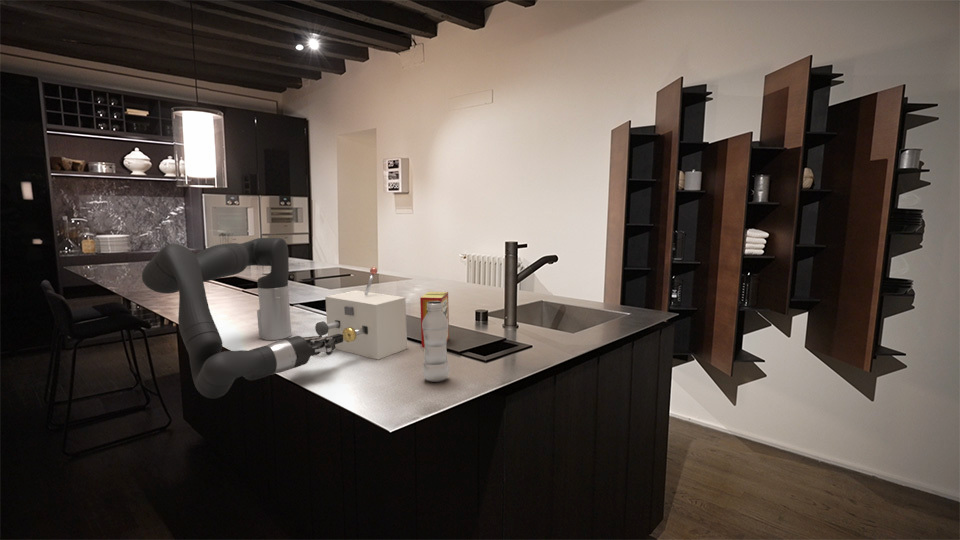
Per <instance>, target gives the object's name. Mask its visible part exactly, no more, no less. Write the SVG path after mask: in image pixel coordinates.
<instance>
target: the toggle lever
mask: <svg viewBox="0 0 960 540" xmlns="http://www.w3.org/2000/svg"><path fill="white" fill-rule="evenodd" d="M369 273H370V276H369V279H368V281H367V284H366V288H365V291H364V292H365V293H364V294H365V295H366V296H367V295H368V292H370V289H371V286H372V283H373V280H374V277H375V275H376V274H377V273H378V268H376V267H371V268H370V269H369Z"/></svg>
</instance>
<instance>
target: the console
mask: <svg viewBox="0 0 960 540" xmlns="http://www.w3.org/2000/svg"><path fill="white" fill-rule="evenodd" d="M364 293H365V291H362V290H358V289H357V290H356V289H355V290H351V291H347V292H341V293H337V294H332V295H326V296H325V298H324V299H325V310H326V312H325V314H326V324H330V323H334V322H338V321H339V322H340V326H339V327H336V328H332V329H329V330H328V333H327V336H328V337H329V336H332V335H336V334H342V333H343V330H344V329H345V328H348V327H352V328H353V329H354V330H357V329H360V328H364V327H367V328H368V332H366V333H363V334H360V335H356V339H355V340H354V341H352V342H346V341H345V340H344V338H343V342H341V343H338V344H335V347H336V348H335V349H334V350H338V351H339V350H340V351H341V352H347V353H350V354H354V355H359V356H362V357H366V358H371V359H373V360H374V359H375V360H377V361H379V360H380V359H383V358H386V357H389V356H392V355H394V354H396V353H399V352H402V351H405V350H407V349H408V335H407V331H408V330H407V305H406V301H407V300H406V297H405V296H398V295H392V294H383V293H377V292H372V291H371V292H370V291H369V292H368V295H367V296H366V295H365V294H364Z"/></svg>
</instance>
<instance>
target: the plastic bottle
mask: <svg viewBox="0 0 960 540" xmlns="http://www.w3.org/2000/svg"><path fill="white" fill-rule="evenodd" d="M441 310H443V307H442V302H440V301H430V302H427V311H428V313H427V314H426V316H425V318H424V319H423V322H422V328H423V335H424V344H425V347H424V354H423V355H424V357H423V364H422V375H423V378H424V379H425V380H426V381H427V382H433V383H434V382H435V383H436V382H437V383H438V382H443V381H445V380H447V379H448V377H449V373H450V365H449V361H448V354H447V353H448V352H447V350H448V349H447V343H448V341H447V332H448V320H447V318H446V317H445V315H444V314H443V313H442V311H441Z"/></svg>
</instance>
